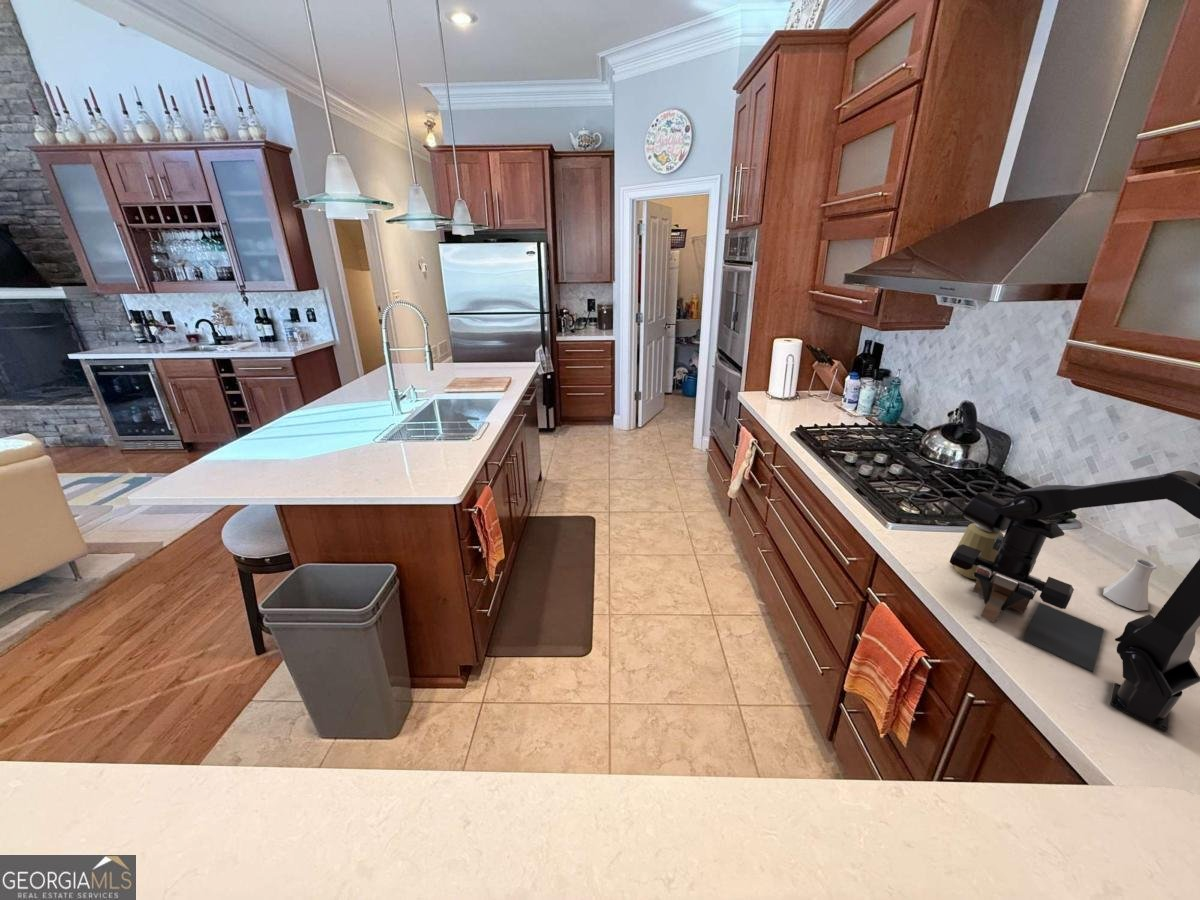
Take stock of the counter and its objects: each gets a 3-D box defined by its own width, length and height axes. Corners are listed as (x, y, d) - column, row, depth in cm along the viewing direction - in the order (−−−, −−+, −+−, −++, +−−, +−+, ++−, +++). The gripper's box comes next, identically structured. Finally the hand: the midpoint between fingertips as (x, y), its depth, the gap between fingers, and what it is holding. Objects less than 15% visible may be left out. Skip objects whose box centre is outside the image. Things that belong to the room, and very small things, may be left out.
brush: (1014, 631, 94) (1022, 616, 92) (961, 607, 100) (967, 592, 98) (1028, 603, 101) (1035, 588, 100) (978, 582, 108) (983, 568, 106)
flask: (1110, 585, 108) (1130, 549, 104) (1155, 605, 102) (1178, 568, 98) (1095, 594, 105) (1115, 557, 101) (1140, 615, 99) (1163, 577, 95)
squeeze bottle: (955, 557, 117) (979, 494, 110) (995, 574, 111) (1023, 508, 104) (943, 570, 112) (967, 505, 105) (984, 588, 107) (1012, 520, 99)
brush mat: (1092, 672, 86) (1093, 671, 86) (1022, 640, 93) (1023, 638, 93) (1103, 630, 95) (1103, 628, 95) (1039, 603, 102) (1039, 602, 102)
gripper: (1091, 550, 91) (1059, 613, 97) (975, 512, 104) (954, 569, 110) (1083, 574, 84) (1049, 640, 91) (960, 530, 97) (938, 590, 104)
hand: (994, 606), depth 99 cm, fingers closed on brush, 2 cm apart
